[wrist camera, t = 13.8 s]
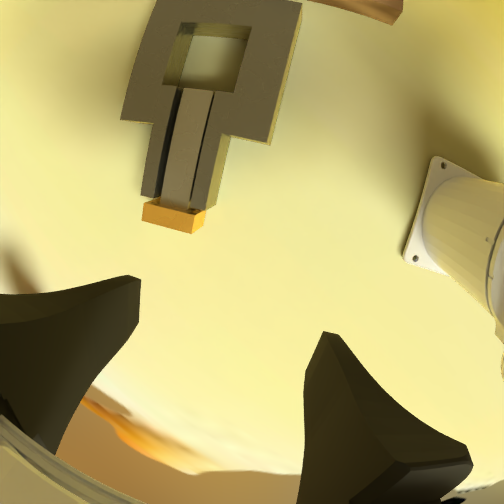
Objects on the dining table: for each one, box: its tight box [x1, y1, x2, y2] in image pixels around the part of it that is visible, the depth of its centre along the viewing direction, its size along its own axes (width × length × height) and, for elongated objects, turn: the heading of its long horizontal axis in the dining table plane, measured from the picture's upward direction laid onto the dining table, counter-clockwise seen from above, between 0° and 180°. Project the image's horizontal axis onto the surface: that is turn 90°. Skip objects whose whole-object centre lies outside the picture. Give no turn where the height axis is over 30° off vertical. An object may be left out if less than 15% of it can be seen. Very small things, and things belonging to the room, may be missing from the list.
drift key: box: [142, 88, 215, 234], centre depth 18 cm, size 4×9×2 cm, turn 167°
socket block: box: [120, 0, 302, 211], centre depth 16 cm, size 10×15×2 cm
